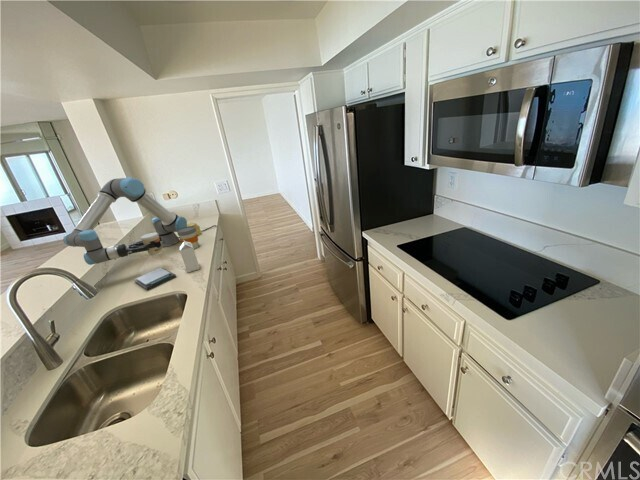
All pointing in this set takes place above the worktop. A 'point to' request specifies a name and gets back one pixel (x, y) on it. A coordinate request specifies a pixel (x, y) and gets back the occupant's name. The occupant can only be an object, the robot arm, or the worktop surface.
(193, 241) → the reusable coffee cup
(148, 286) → the scale
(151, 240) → the coffee cup
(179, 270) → the worktop surface
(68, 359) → the worktop surface
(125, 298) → the worktop surface
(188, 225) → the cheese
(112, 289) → the worktop surface
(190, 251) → the milk carton
